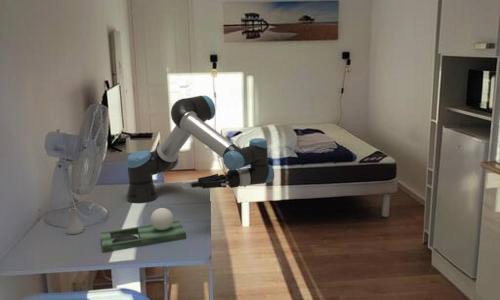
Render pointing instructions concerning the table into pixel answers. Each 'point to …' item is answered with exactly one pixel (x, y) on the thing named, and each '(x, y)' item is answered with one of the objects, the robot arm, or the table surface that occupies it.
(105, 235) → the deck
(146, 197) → the robot arm
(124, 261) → the table surface
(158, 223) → the ball
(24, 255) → the table surface
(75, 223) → the flask
